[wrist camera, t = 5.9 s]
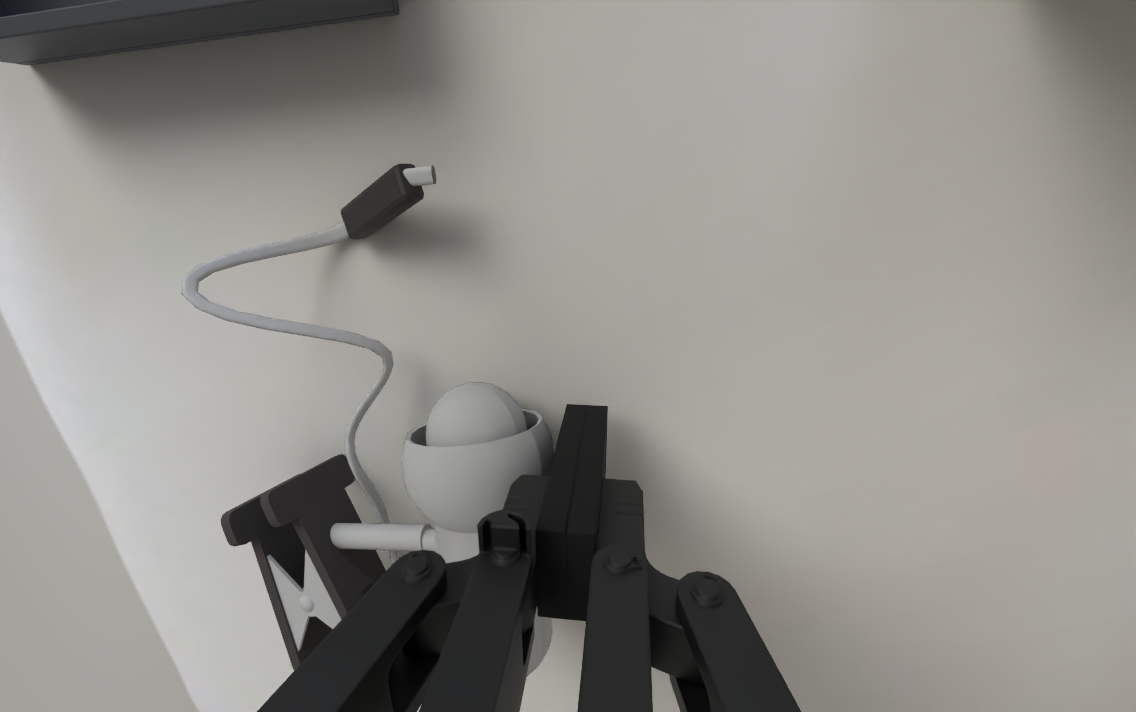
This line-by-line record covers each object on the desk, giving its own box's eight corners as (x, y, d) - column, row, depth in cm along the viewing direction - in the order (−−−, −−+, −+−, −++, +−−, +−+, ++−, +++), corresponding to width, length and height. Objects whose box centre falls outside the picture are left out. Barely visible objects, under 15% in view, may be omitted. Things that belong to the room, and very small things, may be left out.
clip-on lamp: (266, 214, 21) (338, 616, 24) (96, 193, 15) (217, 736, 18) (541, 171, 19) (590, 633, 21) (467, 124, 12) (547, 783, 15)
